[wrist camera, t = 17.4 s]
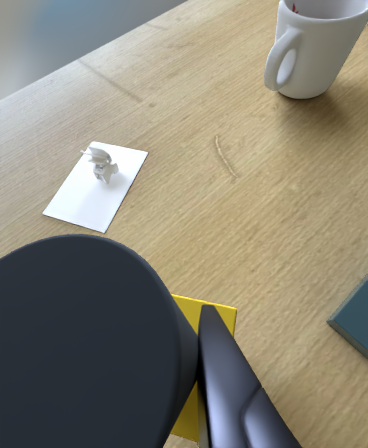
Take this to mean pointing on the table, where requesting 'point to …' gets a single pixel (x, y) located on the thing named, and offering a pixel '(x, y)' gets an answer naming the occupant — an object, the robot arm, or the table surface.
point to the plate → (353, 317)
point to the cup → (312, 44)
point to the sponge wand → (95, 348)
